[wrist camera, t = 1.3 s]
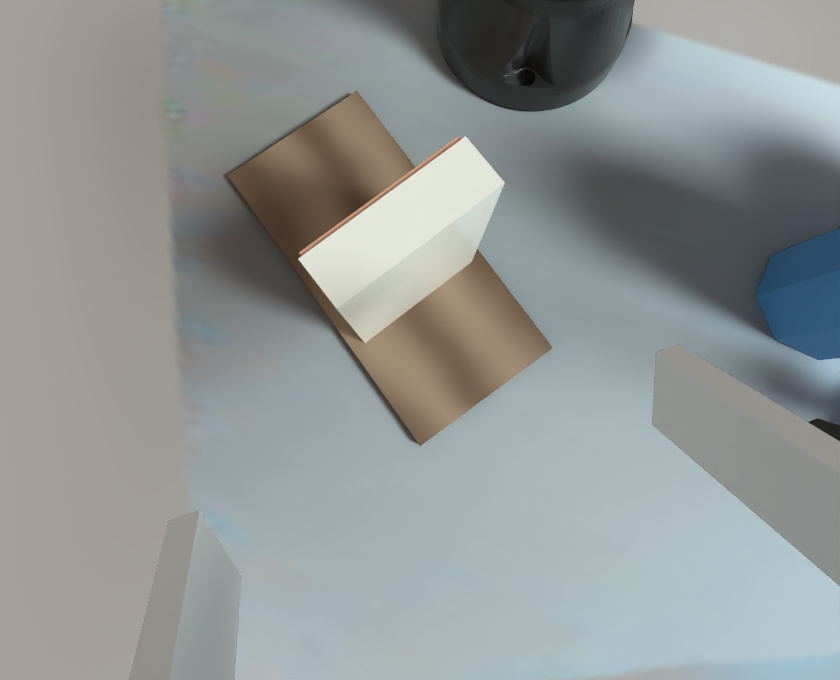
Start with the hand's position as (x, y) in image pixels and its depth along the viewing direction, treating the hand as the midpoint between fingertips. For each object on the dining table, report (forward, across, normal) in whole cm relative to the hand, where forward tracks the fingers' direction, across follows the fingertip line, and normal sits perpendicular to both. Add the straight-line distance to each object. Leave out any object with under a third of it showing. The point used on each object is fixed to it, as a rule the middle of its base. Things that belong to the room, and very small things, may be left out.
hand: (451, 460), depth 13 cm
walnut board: (+25, +3, -3) cm, 25 cm away
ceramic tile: (+23, +4, -4) cm, 23 cm away
